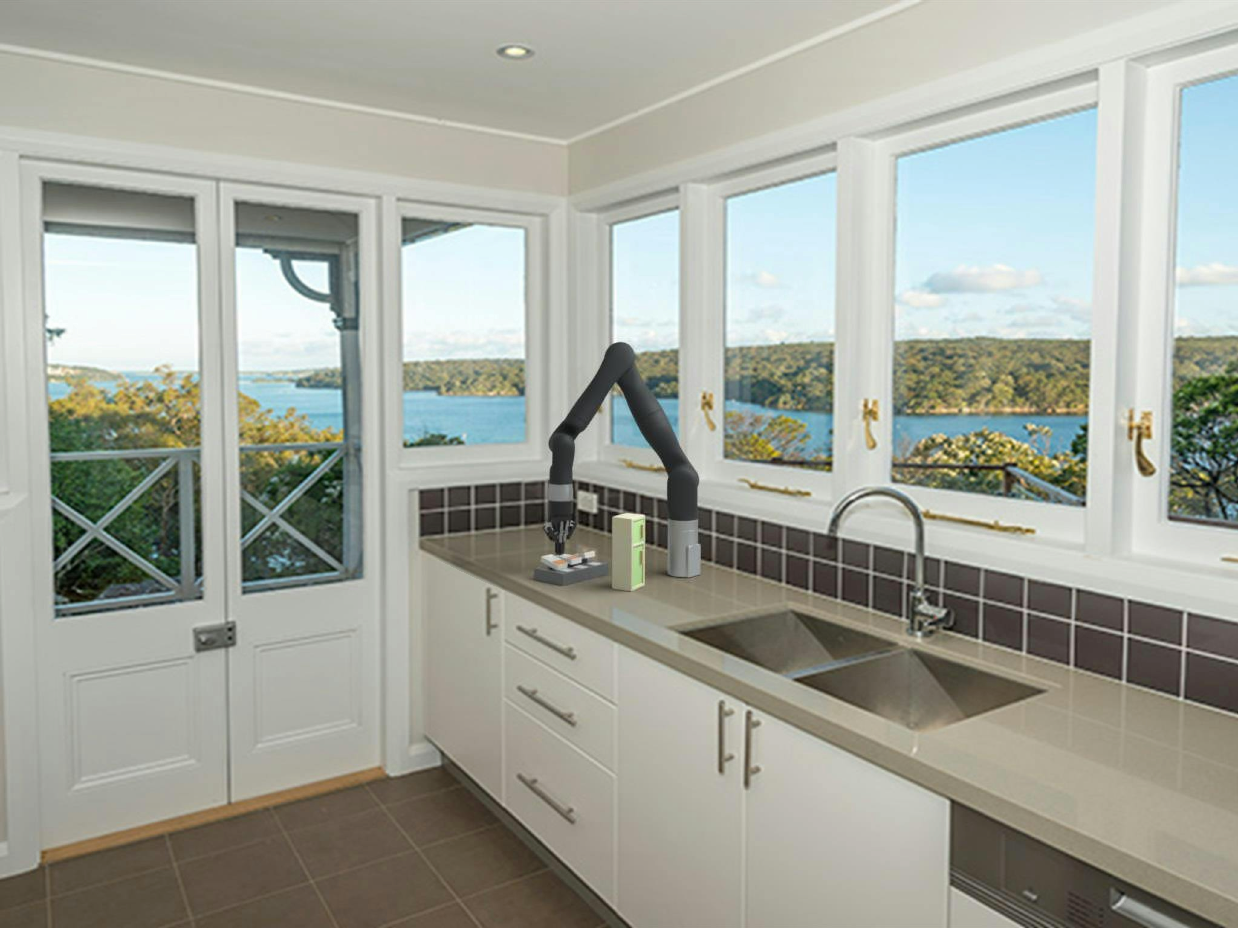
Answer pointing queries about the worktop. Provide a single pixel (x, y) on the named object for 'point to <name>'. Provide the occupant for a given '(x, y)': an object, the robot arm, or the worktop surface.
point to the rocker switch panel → (572, 572)
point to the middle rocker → (570, 558)
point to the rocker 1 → (554, 562)
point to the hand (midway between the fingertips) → (559, 554)
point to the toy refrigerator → (628, 551)
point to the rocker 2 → (586, 554)
